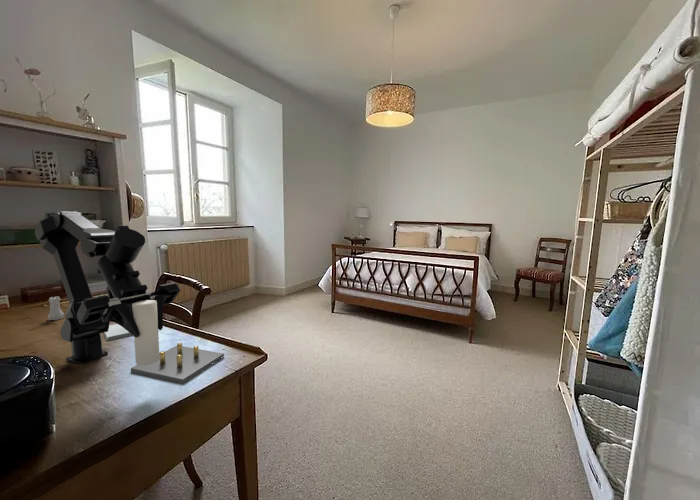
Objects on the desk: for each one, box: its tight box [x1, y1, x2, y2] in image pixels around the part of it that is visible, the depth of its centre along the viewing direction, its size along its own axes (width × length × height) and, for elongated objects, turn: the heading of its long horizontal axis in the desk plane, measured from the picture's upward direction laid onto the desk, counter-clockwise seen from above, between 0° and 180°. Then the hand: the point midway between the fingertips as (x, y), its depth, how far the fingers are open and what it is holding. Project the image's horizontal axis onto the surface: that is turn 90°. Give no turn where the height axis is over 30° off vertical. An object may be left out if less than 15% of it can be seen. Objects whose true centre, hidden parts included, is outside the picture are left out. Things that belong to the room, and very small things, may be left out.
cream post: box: [132, 300, 160, 365], centre depth 66 cm, size 4×4×13 cm
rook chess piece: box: [47, 295, 65, 321], centre depth 109 cm, size 4×4×8 cm
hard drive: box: [103, 323, 133, 342], centre depth 100 cm, size 2×8×12 cm
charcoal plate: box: [130, 342, 225, 384], centre depth 79 cm, size 16×14×4 cm
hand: (150, 332), depth 66 cm, fingers closed on cream post, 4 cm apart
